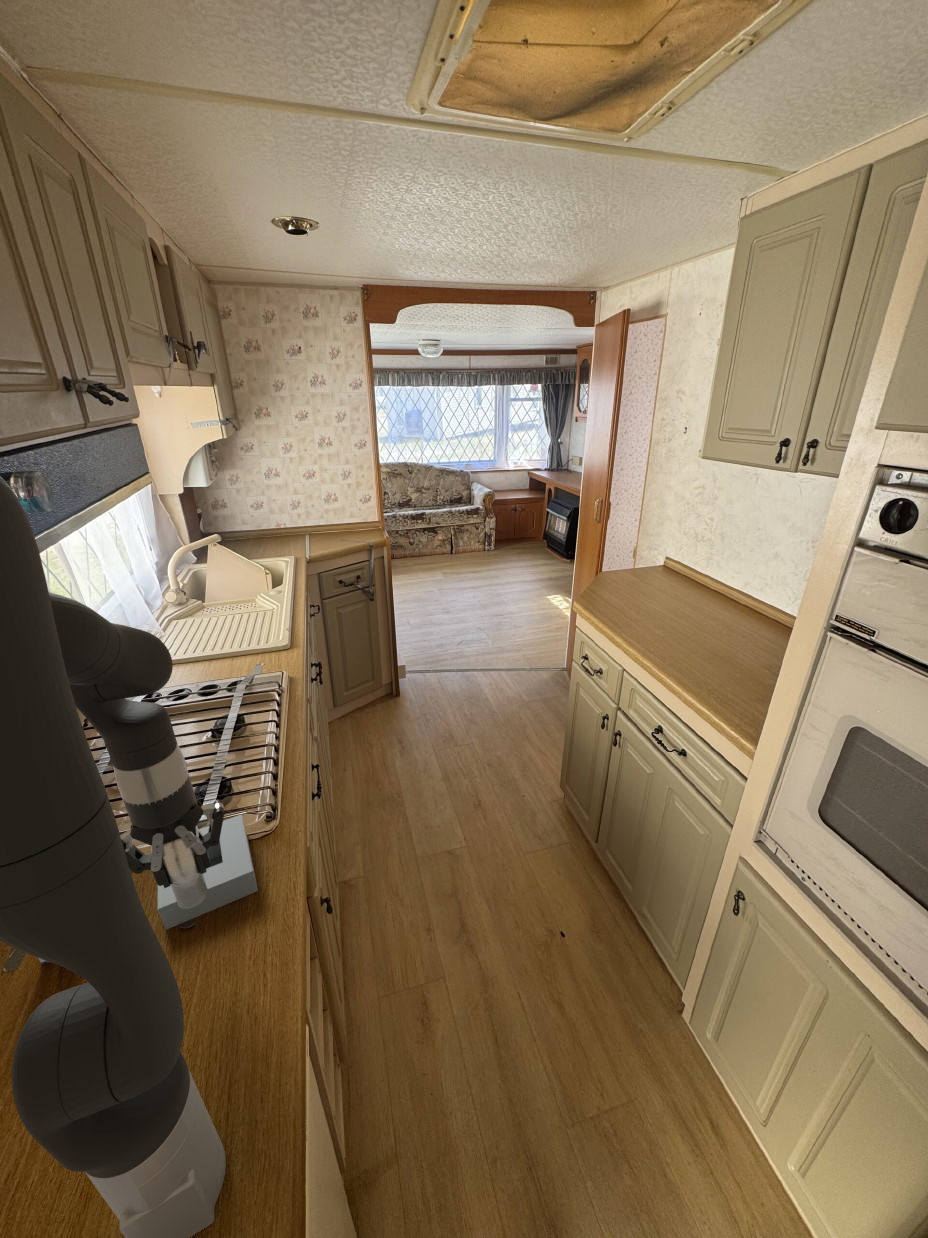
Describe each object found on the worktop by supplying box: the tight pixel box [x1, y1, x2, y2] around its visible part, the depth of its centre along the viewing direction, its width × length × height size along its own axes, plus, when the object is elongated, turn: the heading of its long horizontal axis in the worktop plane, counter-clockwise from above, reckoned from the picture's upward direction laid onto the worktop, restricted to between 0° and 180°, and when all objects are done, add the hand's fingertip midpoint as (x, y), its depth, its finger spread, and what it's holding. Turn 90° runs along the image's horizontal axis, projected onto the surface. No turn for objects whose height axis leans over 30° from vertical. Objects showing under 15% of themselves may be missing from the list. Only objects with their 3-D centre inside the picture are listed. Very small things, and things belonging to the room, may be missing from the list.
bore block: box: [157, 814, 259, 931], centre depth 88 cm, size 14×14×5 cm
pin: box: [162, 838, 208, 909], centre depth 70 cm, size 4×4×12 cm
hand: (186, 875), depth 71 cm, fingers closed on pin, 4 cm apart
